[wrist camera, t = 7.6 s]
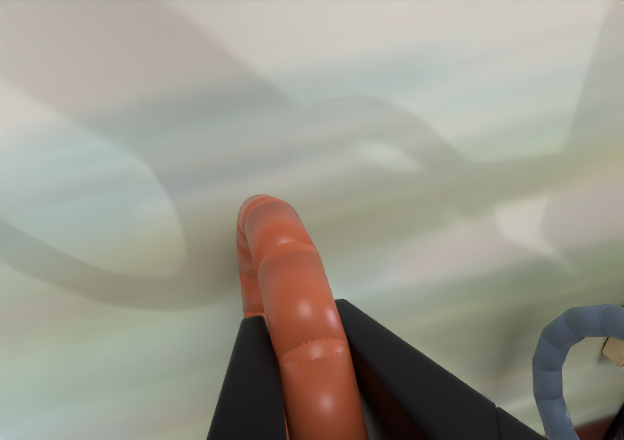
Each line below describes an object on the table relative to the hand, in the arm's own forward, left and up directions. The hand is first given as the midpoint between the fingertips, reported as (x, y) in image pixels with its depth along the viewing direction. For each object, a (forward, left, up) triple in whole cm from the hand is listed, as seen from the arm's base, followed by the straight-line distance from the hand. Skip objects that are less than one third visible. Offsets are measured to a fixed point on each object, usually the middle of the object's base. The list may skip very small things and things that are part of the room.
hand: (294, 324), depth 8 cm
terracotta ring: (-3, 0, -1) cm, 3 cm away
